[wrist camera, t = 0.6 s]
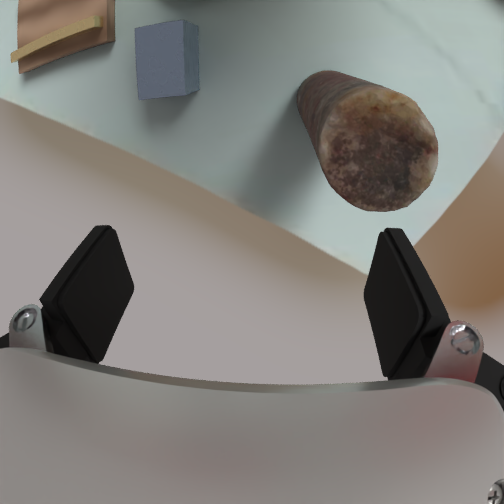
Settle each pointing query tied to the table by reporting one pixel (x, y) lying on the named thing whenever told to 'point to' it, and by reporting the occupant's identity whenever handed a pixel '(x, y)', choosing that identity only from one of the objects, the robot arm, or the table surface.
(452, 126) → the table surface
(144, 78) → the block
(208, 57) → the table surface
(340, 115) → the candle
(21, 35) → the channel stand
